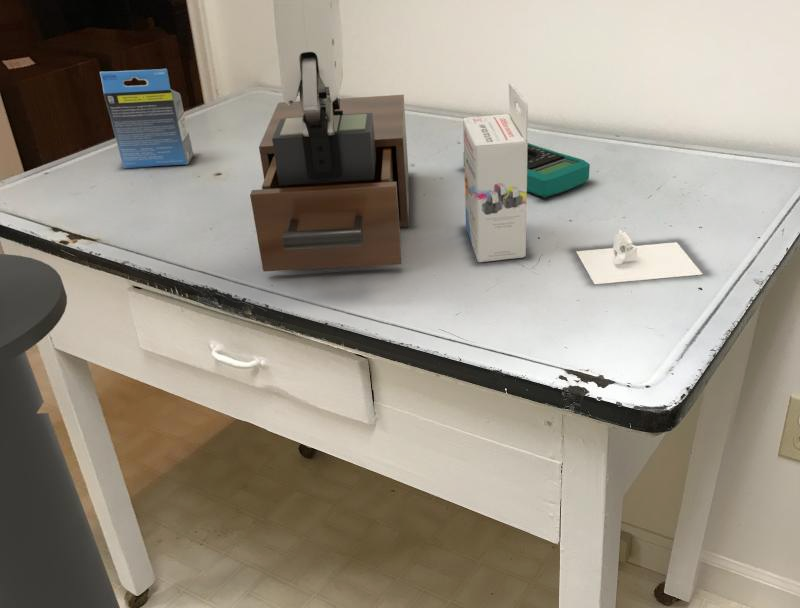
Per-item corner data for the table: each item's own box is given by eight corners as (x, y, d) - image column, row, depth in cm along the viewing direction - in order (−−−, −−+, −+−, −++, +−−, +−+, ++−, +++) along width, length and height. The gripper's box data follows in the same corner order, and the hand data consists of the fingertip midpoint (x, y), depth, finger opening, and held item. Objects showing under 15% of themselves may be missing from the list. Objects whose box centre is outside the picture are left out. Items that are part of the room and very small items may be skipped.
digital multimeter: (504, 154, 108) (504, 131, 106) (591, 184, 98) (593, 158, 96) (459, 169, 104) (458, 145, 103) (545, 202, 94) (546, 176, 93)
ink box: (463, 228, 90) (460, 84, 81) (510, 224, 90) (511, 79, 82) (476, 263, 83) (474, 110, 74) (527, 258, 83) (531, 104, 75)
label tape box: (194, 155, 115) (175, 60, 108) (187, 166, 112) (167, 68, 105) (130, 159, 116) (107, 64, 109) (122, 169, 112) (97, 72, 105)
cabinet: (408, 227, 91) (403, 137, 86) (272, 234, 92) (258, 146, 86) (408, 175, 104) (403, 94, 98) (289, 182, 104) (278, 102, 99)
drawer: (401, 287, 78) (395, 206, 73) (255, 295, 78) (241, 215, 74) (402, 205, 94) (398, 135, 89) (281, 212, 94) (270, 142, 90)
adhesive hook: (607, 257, 82) (609, 226, 80) (634, 254, 82) (637, 224, 81) (616, 271, 80) (618, 239, 78) (643, 268, 80) (647, 237, 78)
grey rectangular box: (279, 186, 80) (271, 136, 78) (286, 163, 85) (279, 117, 83) (374, 180, 80) (369, 130, 77) (376, 158, 85) (372, 111, 82)
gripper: (272, -55, 79) (298, 138, 89) (242, -24, 65) (278, 201, 75) (353, -61, 79) (370, 133, 89) (341, -32, 65) (362, 196, 75)
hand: (327, 162), depth 82 cm, fingers closed on grey rectangular box, 6 cm apart
